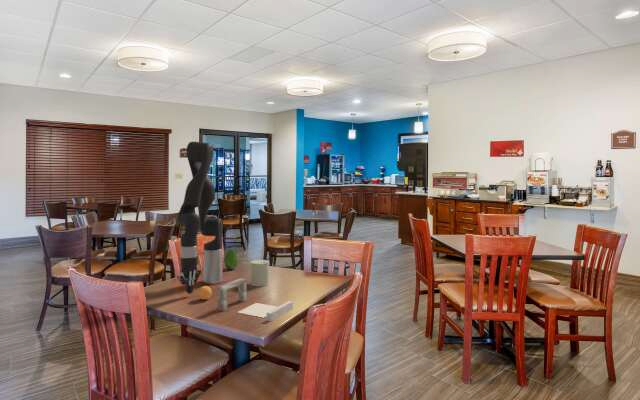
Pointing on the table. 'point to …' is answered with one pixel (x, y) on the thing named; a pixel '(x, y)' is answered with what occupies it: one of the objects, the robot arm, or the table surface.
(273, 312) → the wall
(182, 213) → the robot arm
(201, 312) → the table surface
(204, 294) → the ball
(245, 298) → the bridge
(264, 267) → the can
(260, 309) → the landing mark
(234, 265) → the avocado
